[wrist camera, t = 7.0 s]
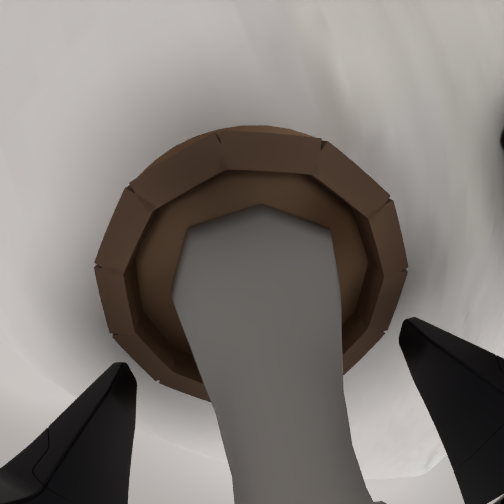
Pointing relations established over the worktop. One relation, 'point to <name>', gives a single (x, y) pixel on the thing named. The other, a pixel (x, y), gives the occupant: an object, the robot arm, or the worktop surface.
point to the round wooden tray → (235, 199)
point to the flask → (271, 354)
